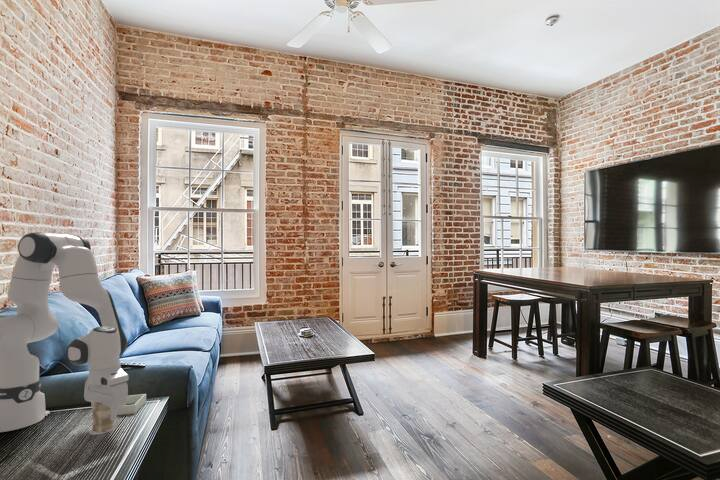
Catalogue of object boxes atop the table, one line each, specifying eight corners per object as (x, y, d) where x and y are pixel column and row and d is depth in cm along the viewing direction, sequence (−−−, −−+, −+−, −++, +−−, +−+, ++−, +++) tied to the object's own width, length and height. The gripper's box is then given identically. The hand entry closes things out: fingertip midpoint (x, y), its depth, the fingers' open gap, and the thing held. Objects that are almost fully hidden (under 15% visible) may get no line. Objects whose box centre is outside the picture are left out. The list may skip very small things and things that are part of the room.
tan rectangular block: (92, 430, 122) (93, 402, 123) (106, 425, 126) (107, 398, 126) (99, 432, 120) (100, 404, 120) (113, 427, 124) (114, 400, 124)
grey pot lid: (83, 434, 121) (83, 421, 121) (109, 424, 128) (109, 412, 128) (96, 439, 117) (96, 426, 118) (122, 429, 124) (122, 416, 125)
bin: (98, 419, 133) (98, 408, 133) (112, 407, 144) (112, 397, 145) (135, 415, 135) (135, 404, 136) (146, 403, 147) (146, 393, 147)
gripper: (78, 374, 126) (78, 415, 125) (111, 381, 117) (111, 426, 116) (98, 369, 132) (98, 408, 131) (131, 375, 122) (131, 418, 121)
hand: (104, 417), depth 123 cm, fingers open, 8 cm apart
